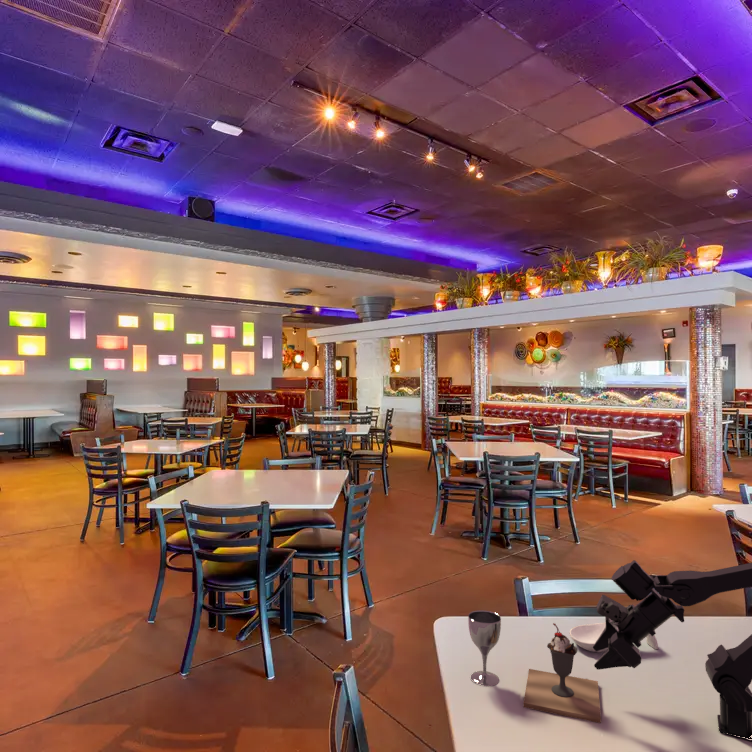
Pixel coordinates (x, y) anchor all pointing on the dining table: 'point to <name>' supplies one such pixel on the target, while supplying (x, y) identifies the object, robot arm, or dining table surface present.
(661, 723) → the dining table surface
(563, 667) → the sundae
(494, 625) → the wine glass
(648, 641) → the spoon rest
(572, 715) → the serving board
